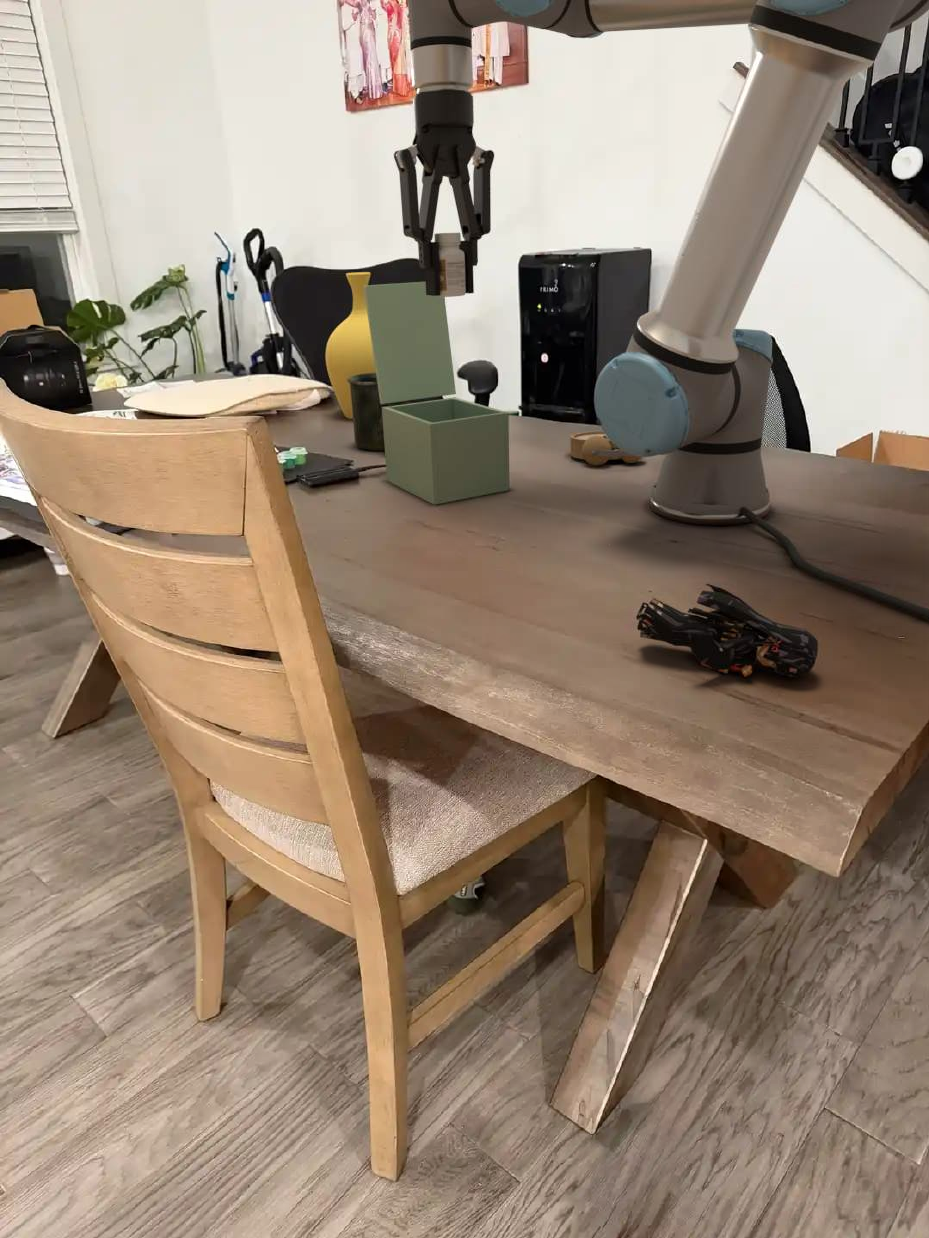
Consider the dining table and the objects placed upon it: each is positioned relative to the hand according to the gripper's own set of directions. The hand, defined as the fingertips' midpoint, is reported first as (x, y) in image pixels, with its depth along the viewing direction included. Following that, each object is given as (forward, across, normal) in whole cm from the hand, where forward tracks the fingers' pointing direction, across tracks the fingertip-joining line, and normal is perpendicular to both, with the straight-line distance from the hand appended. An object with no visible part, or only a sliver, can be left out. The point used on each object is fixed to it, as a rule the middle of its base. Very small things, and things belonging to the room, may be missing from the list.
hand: (450, 293), depth 114 cm
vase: (+27, -12, -61) cm, 68 cm away
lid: (+7, 0, -12) cm, 14 cm away
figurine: (+27, +8, +61) cm, 67 cm away
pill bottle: (0, 0, 0) cm, 0 cm away
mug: (+27, -3, -32) cm, 42 cm away
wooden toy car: (+27, -29, -1) cm, 40 cm away
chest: (+27, 0, -3) cm, 27 cm away
